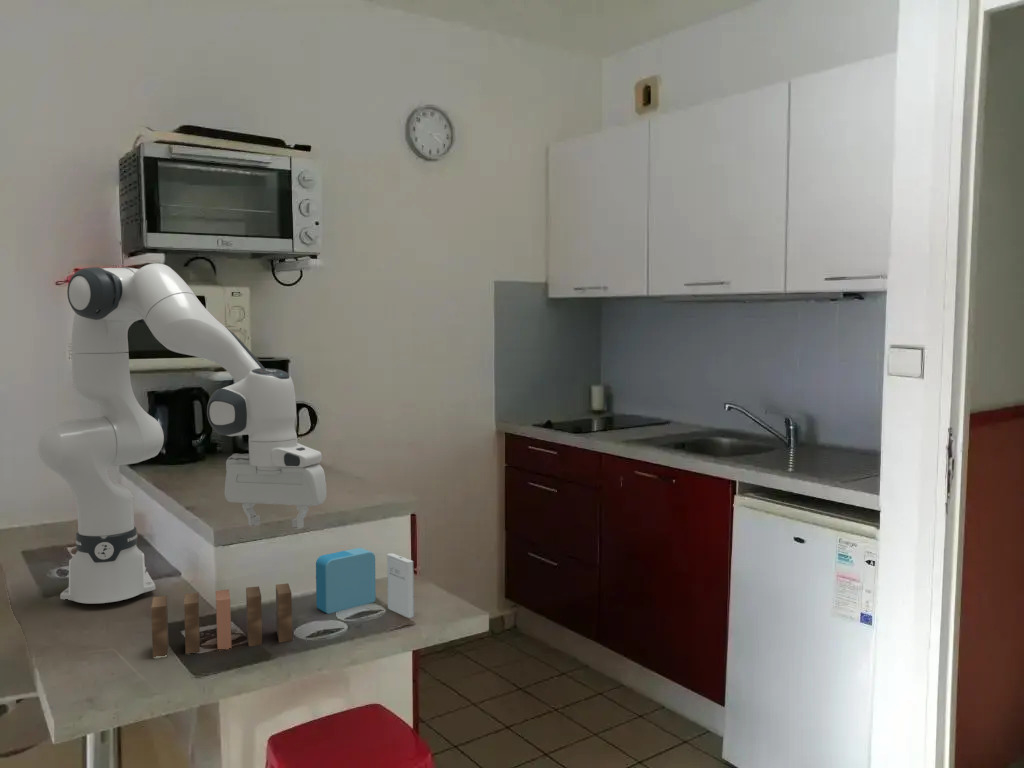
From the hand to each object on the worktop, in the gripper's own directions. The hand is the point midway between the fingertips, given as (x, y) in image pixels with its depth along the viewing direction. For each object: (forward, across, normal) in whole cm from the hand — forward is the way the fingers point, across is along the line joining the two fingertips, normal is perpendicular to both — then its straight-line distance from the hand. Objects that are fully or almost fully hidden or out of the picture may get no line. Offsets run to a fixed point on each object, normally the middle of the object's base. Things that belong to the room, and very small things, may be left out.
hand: (276, 526), depth 158 cm
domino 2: (+22, -13, -8) cm, 27 cm away
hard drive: (+23, +16, +20) cm, 34 cm away
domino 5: (+22, 0, +2) cm, 22 cm away
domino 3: (+22, -9, -5) cm, 24 cm away
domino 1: (+22, -18, -12) cm, 31 cm away
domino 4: (+22, -4, -2) cm, 23 cm away
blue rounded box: (+22, +3, +21) cm, 31 cm away
